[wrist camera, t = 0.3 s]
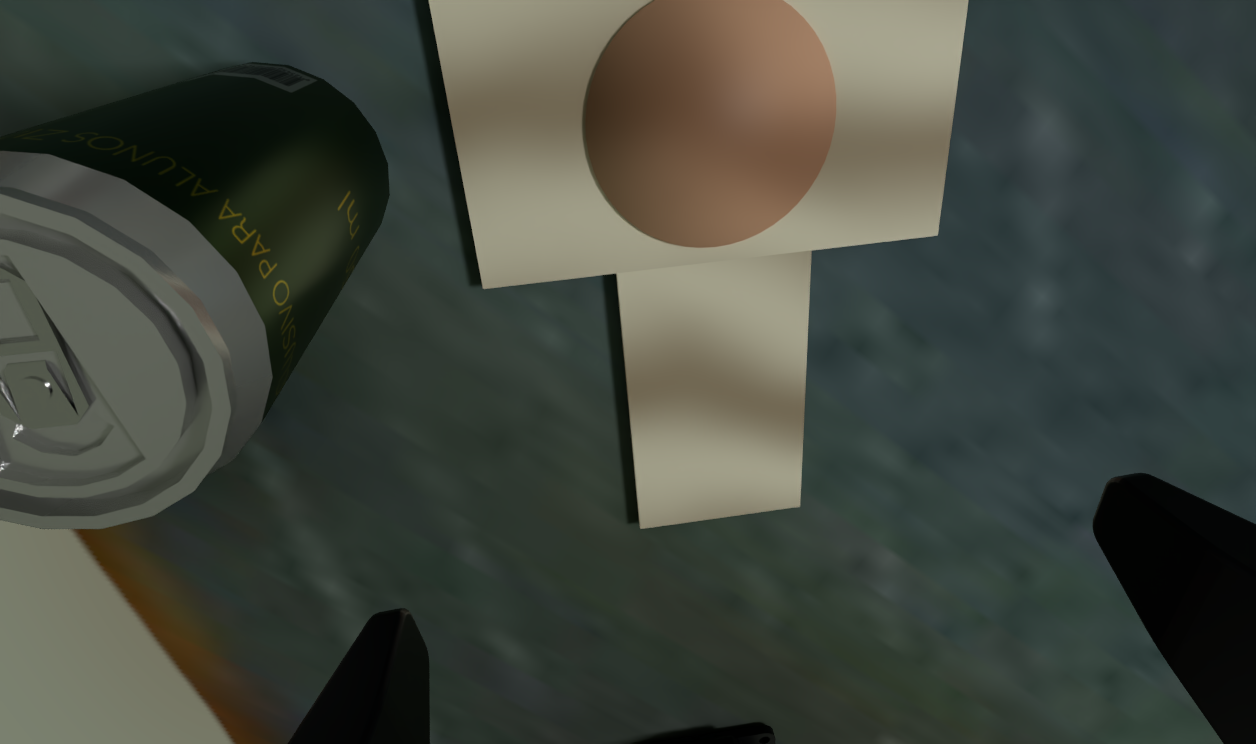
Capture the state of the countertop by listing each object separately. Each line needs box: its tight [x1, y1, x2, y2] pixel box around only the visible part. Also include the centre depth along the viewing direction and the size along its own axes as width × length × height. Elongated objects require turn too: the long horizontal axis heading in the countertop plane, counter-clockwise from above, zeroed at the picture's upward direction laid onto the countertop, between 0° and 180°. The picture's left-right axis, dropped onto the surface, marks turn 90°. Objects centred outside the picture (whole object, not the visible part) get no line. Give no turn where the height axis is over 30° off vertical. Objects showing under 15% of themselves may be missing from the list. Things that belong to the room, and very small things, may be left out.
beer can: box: [0, 62, 390, 529], centre depth 15 cm, size 5×5×12 cm
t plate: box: [429, 0, 968, 529], centre depth 23 cm, size 18×14×1 cm
